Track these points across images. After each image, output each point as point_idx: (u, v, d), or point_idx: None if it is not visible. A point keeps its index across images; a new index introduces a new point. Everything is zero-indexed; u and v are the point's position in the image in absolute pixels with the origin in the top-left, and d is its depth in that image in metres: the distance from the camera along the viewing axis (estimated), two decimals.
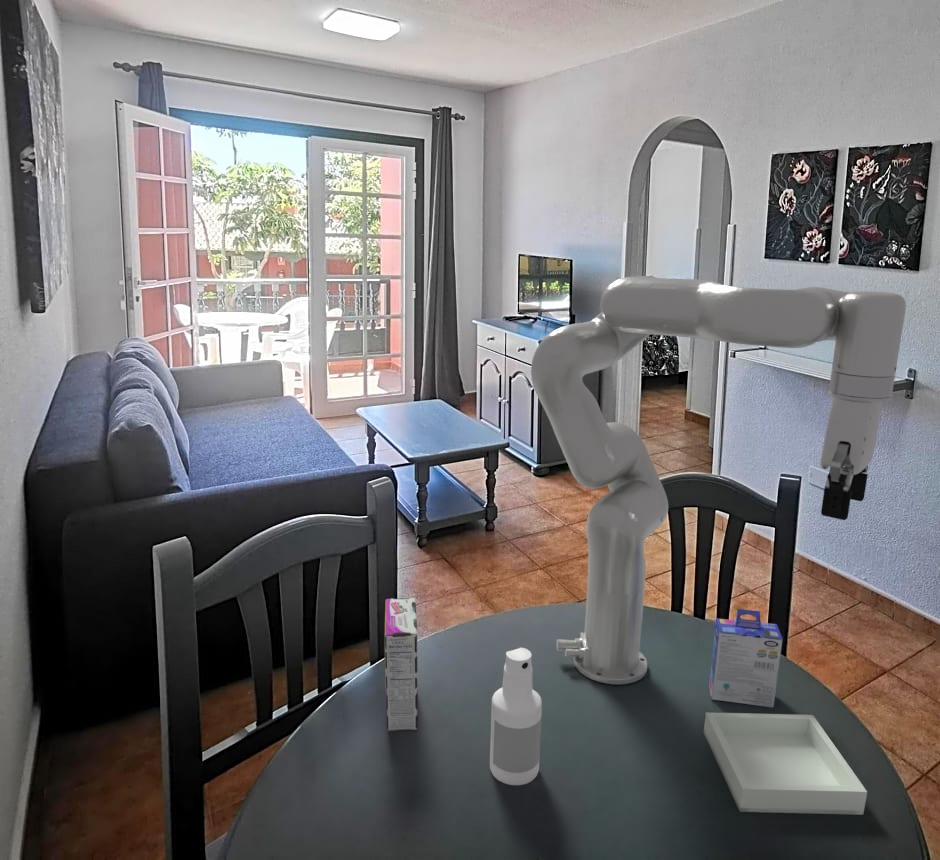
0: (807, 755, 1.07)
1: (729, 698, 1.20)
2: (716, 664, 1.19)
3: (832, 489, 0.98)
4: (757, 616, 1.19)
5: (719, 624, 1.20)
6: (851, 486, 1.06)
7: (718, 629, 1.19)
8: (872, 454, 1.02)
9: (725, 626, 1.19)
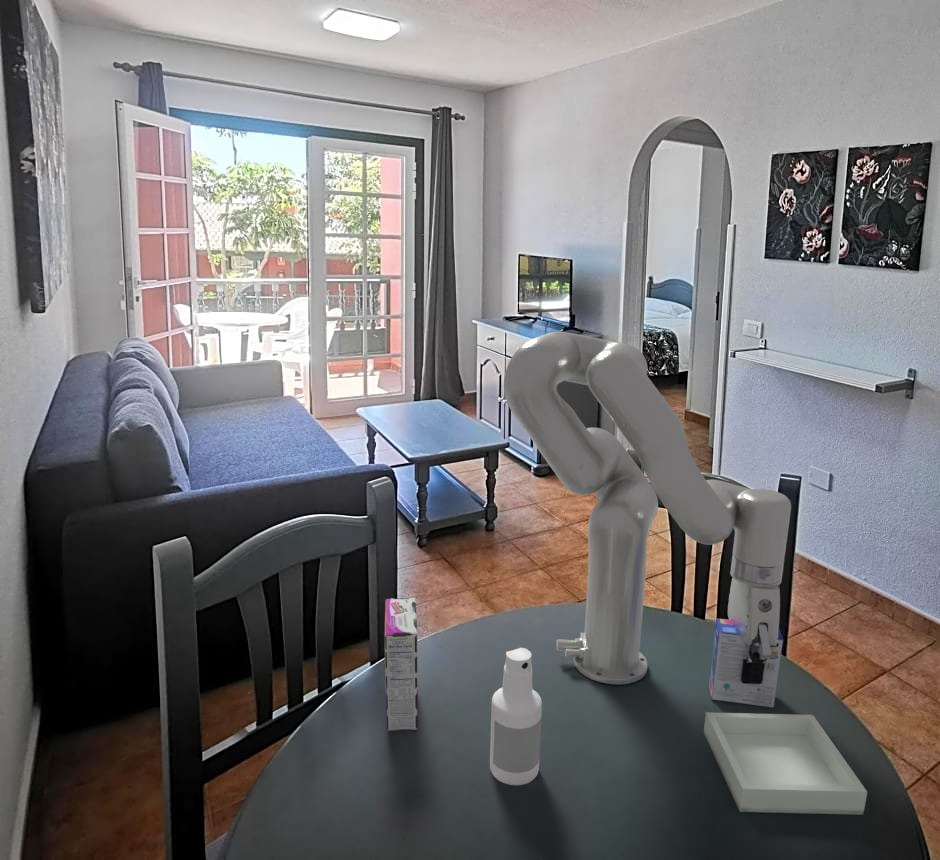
0: (807, 755, 1.07)
1: (729, 698, 1.20)
2: (716, 664, 1.19)
3: None
4: None
5: (719, 624, 1.20)
6: None
7: (718, 629, 1.19)
8: (742, 633, 1.16)
9: (726, 626, 1.19)
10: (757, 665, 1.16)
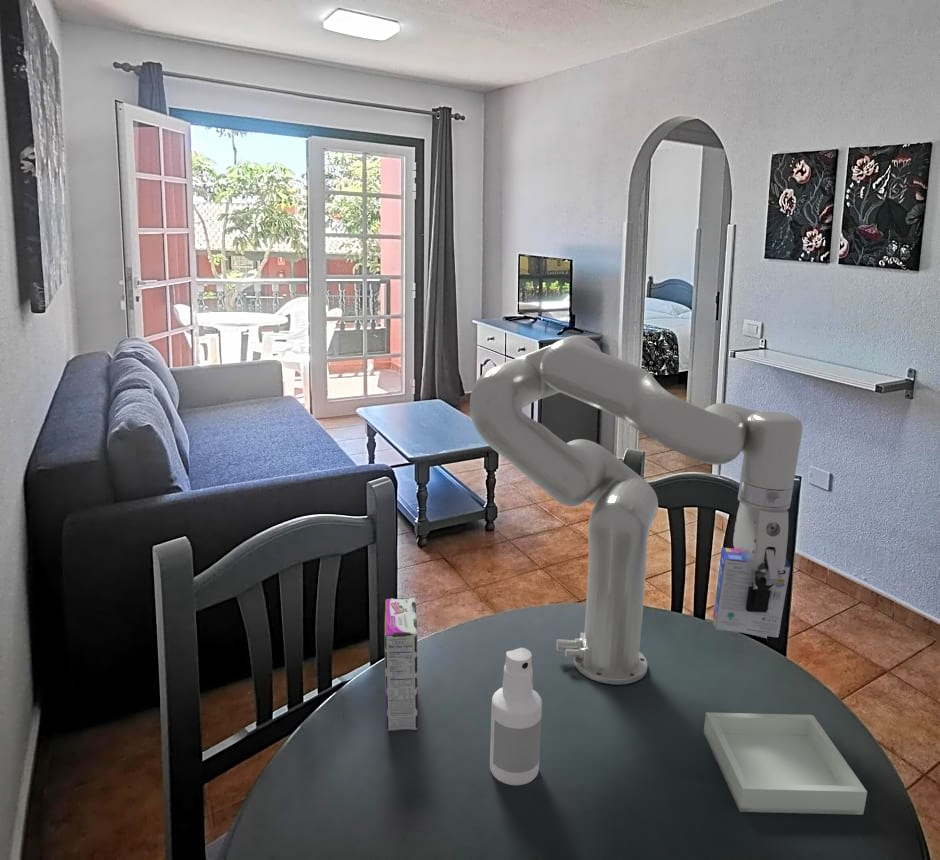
0: (807, 755, 1.07)
1: (733, 627, 1.17)
2: (721, 592, 1.16)
3: None
4: None
5: (725, 552, 1.17)
6: None
7: (724, 557, 1.16)
8: (748, 559, 1.13)
9: (731, 554, 1.16)
10: (763, 592, 1.13)
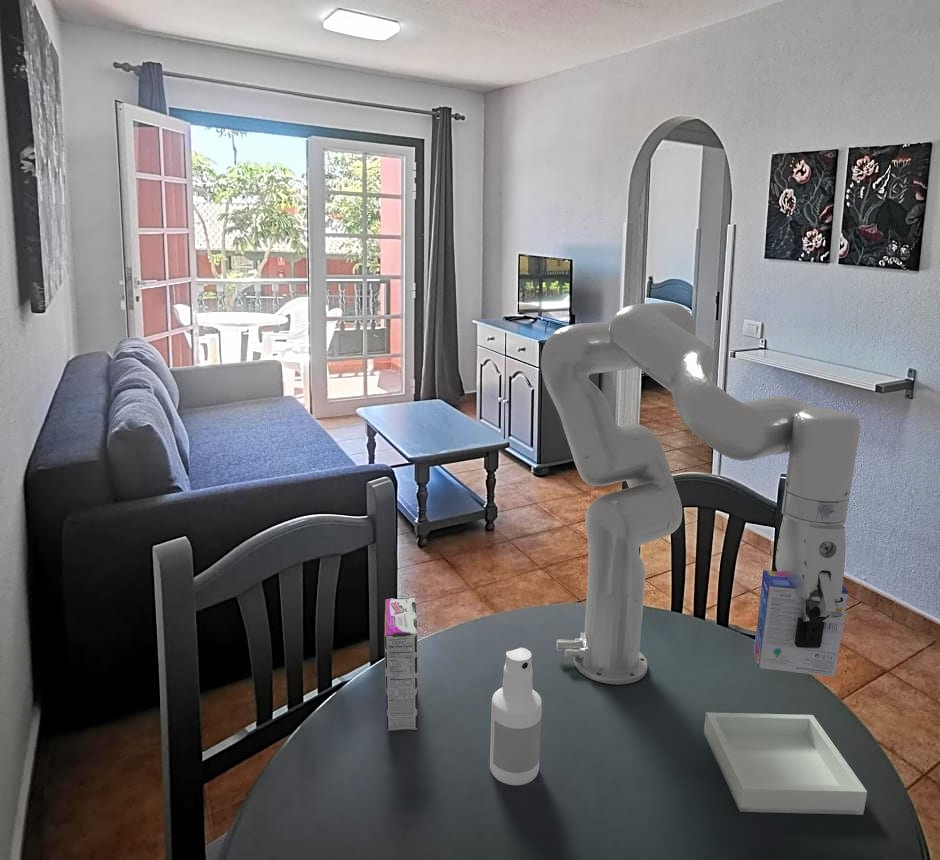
0: (807, 755, 1.07)
1: (780, 666, 0.98)
2: (765, 625, 0.97)
3: None
4: None
5: (768, 577, 0.98)
6: None
7: (768, 582, 0.97)
8: (797, 585, 0.94)
9: (776, 579, 0.98)
10: (816, 624, 0.94)
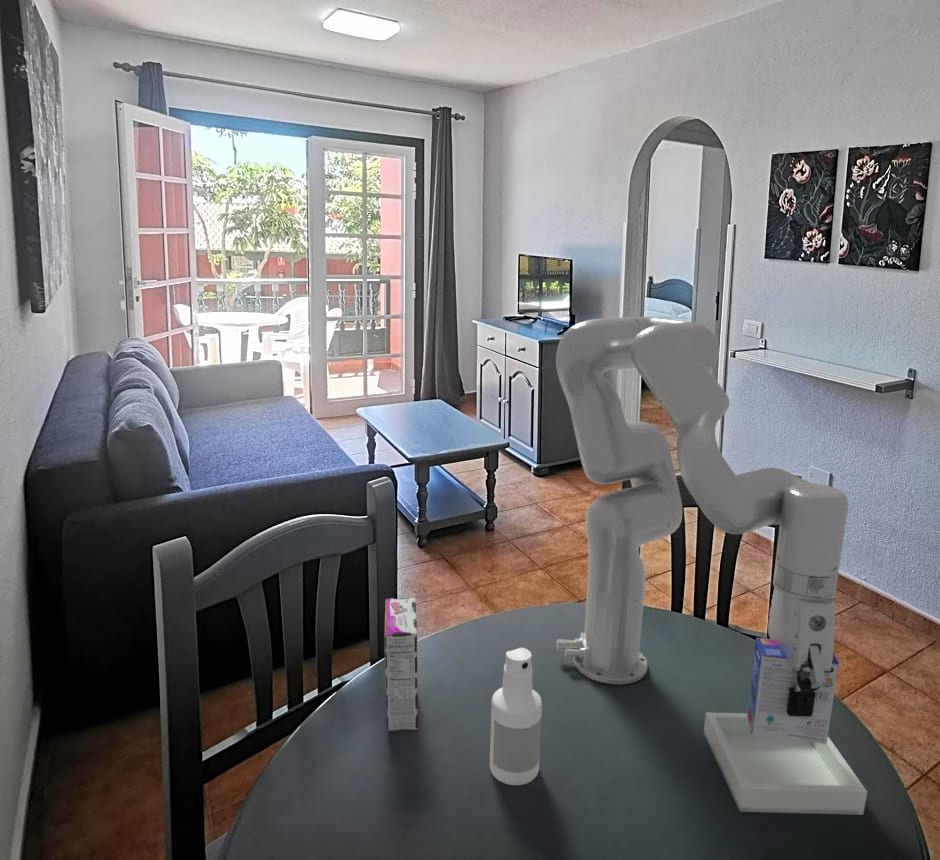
0: (807, 755, 1.07)
1: (773, 733, 1.00)
2: (758, 693, 0.99)
3: None
4: None
5: (761, 645, 1.01)
6: None
7: (760, 651, 0.99)
8: (789, 656, 0.97)
9: (768, 647, 1.00)
10: (807, 694, 0.96)
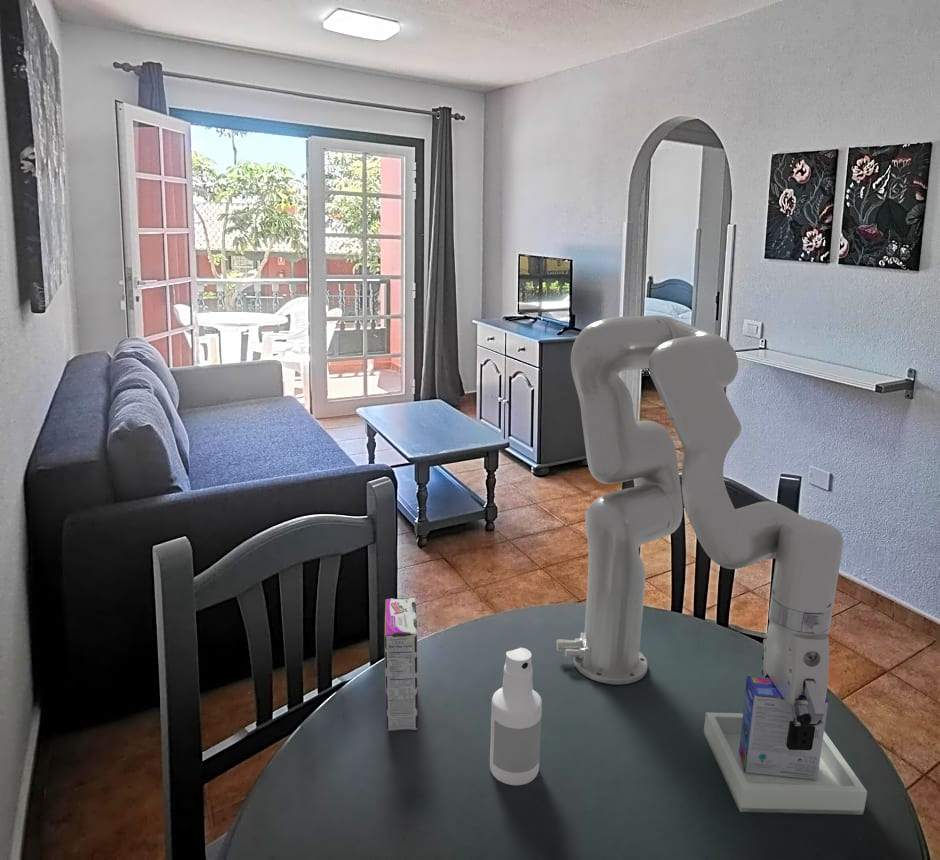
0: None
1: (766, 770, 1.02)
2: (751, 732, 1.01)
3: None
4: None
5: (752, 684, 1.03)
6: None
7: (752, 691, 1.01)
8: (783, 690, 0.98)
9: (760, 687, 1.02)
10: (807, 729, 0.96)
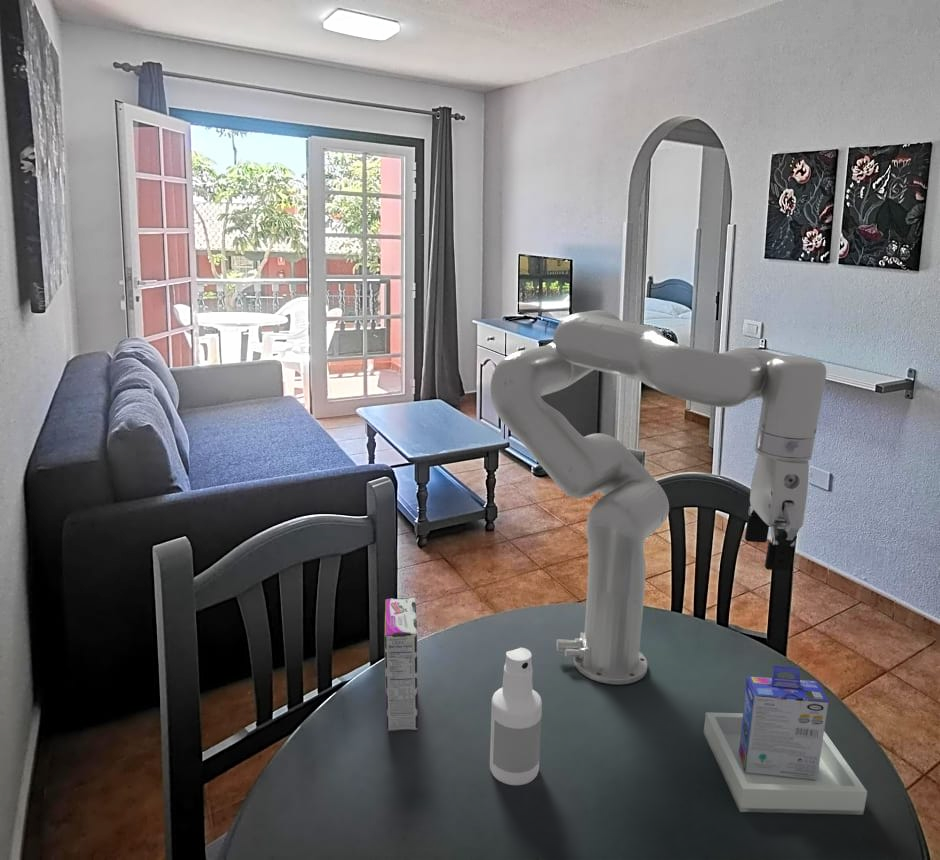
0: None
1: (766, 770, 1.02)
2: (751, 732, 1.01)
3: None
4: (796, 673, 1.02)
5: (752, 684, 1.03)
6: None
7: (752, 691, 1.01)
8: (764, 514, 1.05)
9: (760, 687, 1.02)
10: (784, 548, 1.04)
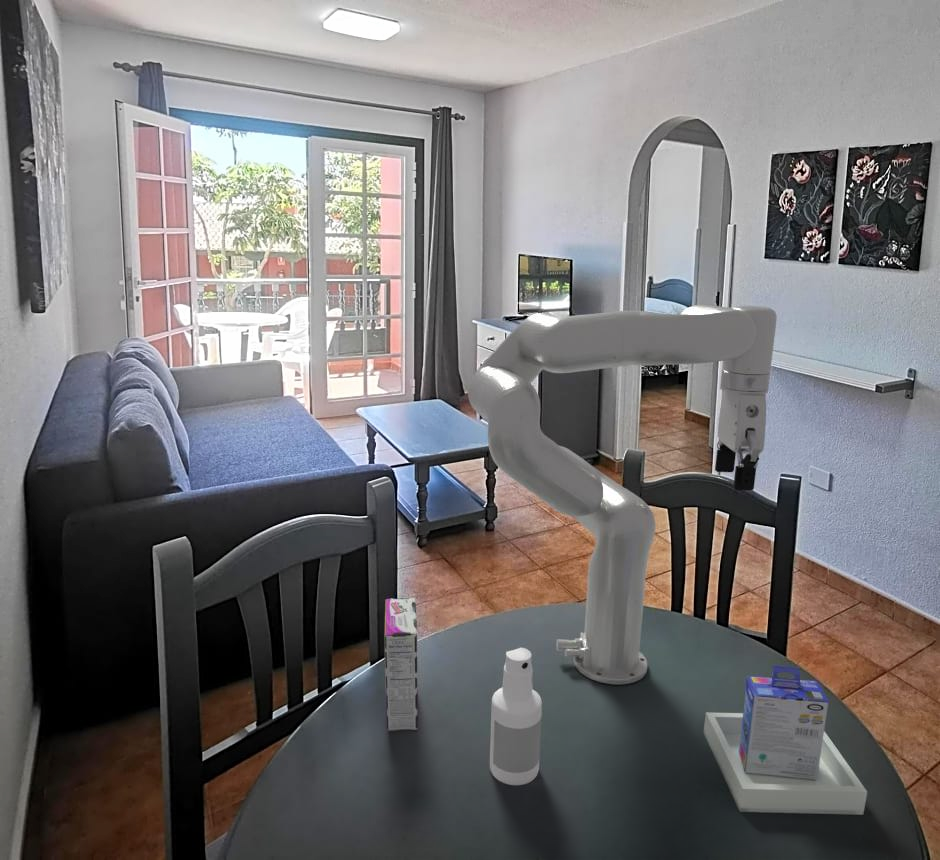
0: None
1: (766, 770, 1.02)
2: (751, 732, 1.01)
3: None
4: (796, 673, 1.02)
5: (752, 684, 1.03)
6: None
7: (752, 691, 1.01)
8: (731, 442, 1.23)
9: (760, 687, 1.02)
10: (749, 470, 1.21)
